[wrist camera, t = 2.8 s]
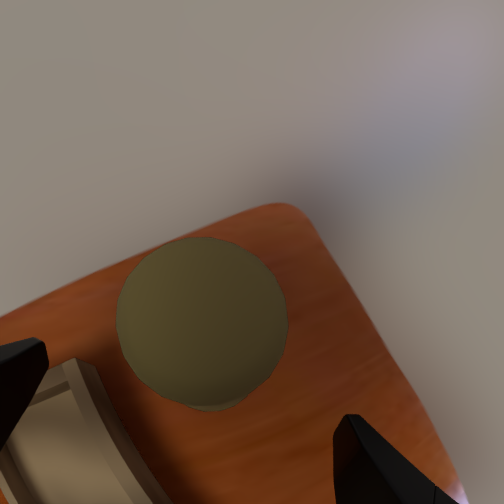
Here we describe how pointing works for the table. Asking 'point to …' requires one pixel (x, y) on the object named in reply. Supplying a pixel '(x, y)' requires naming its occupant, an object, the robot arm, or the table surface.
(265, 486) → the table surface
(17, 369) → the robot arm
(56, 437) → the track
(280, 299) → the olive pawn figure
